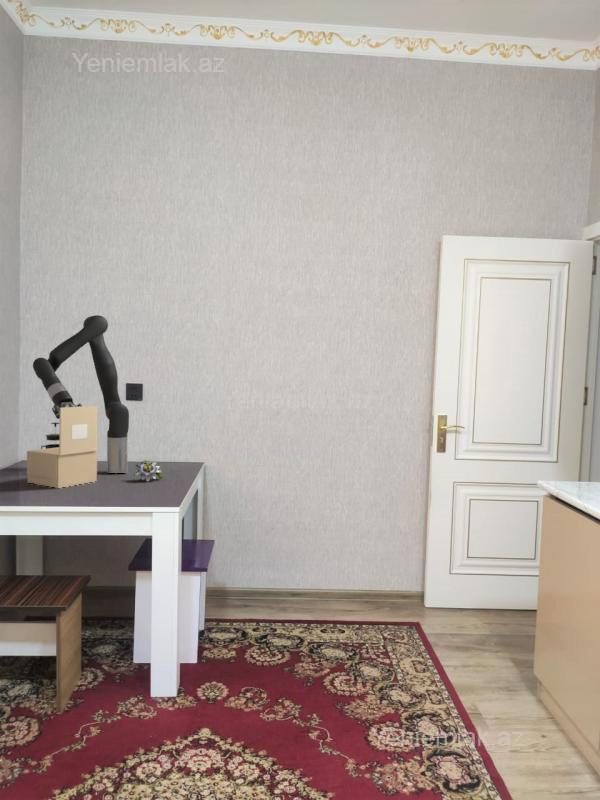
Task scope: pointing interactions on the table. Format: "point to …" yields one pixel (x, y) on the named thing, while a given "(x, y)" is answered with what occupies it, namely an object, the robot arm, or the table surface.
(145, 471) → the passion flower
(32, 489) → the table surface
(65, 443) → the carton flap
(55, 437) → the french press
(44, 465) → the carton
